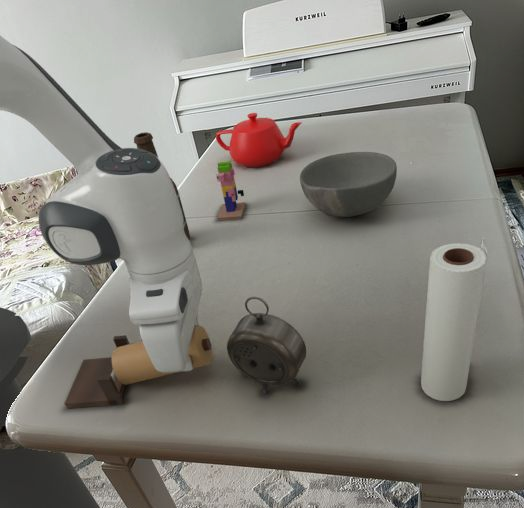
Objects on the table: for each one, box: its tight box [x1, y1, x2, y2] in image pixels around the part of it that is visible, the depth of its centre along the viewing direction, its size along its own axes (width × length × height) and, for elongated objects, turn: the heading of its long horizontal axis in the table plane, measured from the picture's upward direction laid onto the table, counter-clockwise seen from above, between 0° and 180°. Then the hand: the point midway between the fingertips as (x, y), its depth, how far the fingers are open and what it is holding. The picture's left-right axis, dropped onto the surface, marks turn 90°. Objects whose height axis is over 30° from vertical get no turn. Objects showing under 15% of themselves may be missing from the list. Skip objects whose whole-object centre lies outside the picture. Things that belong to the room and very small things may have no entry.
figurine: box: [215, 160, 247, 221], centre depth 119 cm, size 7×6×12 cm
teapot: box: [215, 112, 303, 168], centre depth 140 cm, size 25×16×12 cm, turn 73°
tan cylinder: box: [111, 325, 213, 386], centre depth 79 cm, size 16×8×6 cm, turn 88°
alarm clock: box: [226, 296, 307, 395], centre depth 73 cm, size 11×5×16 cm, turn 66°
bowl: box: [299, 151, 398, 218], centre depth 111 cm, size 20×20×10 cm
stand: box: [64, 334, 130, 410], centre depth 82 cm, size 9×10×6 cm
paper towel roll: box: [420, 237, 488, 402], centre depth 65 cm, size 7×6×21 cm
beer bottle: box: [133, 131, 191, 242], centre depth 107 cm, size 8×8×24 cm
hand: (191, 351), depth 78 cm, fingers closed on tan cylinder, 6 cm apart
